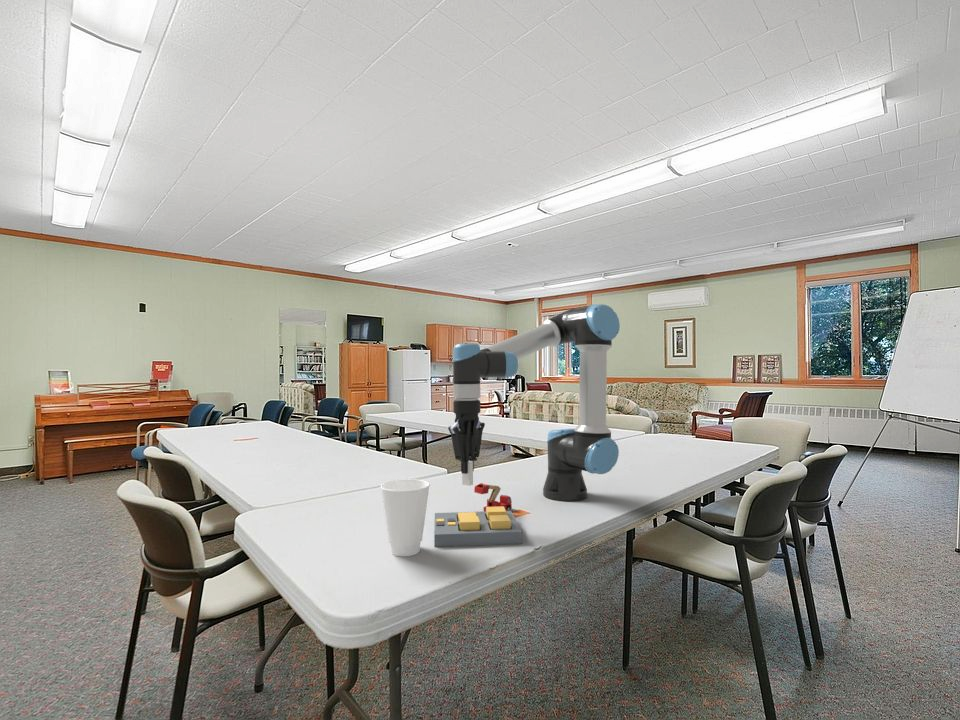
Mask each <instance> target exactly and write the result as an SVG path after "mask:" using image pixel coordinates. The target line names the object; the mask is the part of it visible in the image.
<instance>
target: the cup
mask: <svg viewBox="0 0 960 720" xmlns="http://www.w3.org/2000/svg"><path fill="white" fill-rule="evenodd" d="M430 486H431V484H430V483H429V482H428V481H426V480H422V479H413V478H411V479H410V478H409V479H408V478H407V479H406V478H405V479H395V480H391V481H390V480H389V481H386V482H384V483H382V484H381V485H380V490H381V496H382V497H381V498H382V504H383V511H384V519H385V526H386V532H387V533H386V534H387V540H388V543H389V546H390V547H389V548H390V553H391V554H392V555H393V556H395V557H410V556H414V555H417V554H419V553H420V550H421V544H422V543H421V542H422V540H423V535H424V528H425V527H424V526H425V521H426V513H427V504H428V498H429V490H430Z"/></svg>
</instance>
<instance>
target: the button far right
mask: <svg viewBox="0 0 960 720" xmlns="http://www.w3.org/2000/svg"><path fill="white" fill-rule="evenodd" d="M461 512H462V513H458V521H459V516H477V515H476V512H477V511H461Z"/></svg>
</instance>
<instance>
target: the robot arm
mask: <svg viewBox="0 0 960 720" xmlns="http://www.w3.org/2000/svg"><path fill="white" fill-rule="evenodd" d="M620 325H621V324H620V318H619V316H618V314H617V312H615V311H614V309H613V308H612V307H611V306H609V305H607V304H604V303H603V304H602V303H601V304H600V303H599V304H591V305H586V306H582V307H574V308H570V309H567V310H565V311H563V312H560V313H557V314H556V315H554V316H552V317H550V318H547V319H546V320H544V321H542V323H541V325H539V326H538V325H537V326H536V327H534V328H531V329H529V330H526V331H523V332H521V333H519V334H517V335H513V336H512V337H509V338H505V339H504V340H501V341H499V342H497V343H494V344H492V345H490V346H487V347H486V346H485V347H484V348H483V349H481V347H480V344H479V343H458V344H457V343H456V344H455V345H454V346H453V348H452V349H453V351H452V370H453V371H452V373H453V376H452V377H453V378H452V379H453V382H452V383H453V384H452V385H453V389H452V390H453V393H452V394H453V395H452V396H453V398H454V400H453V403H452V404H453V410H452V411H453V414H455V418H454V423H453V425H449V426H448V429H447V430H448V431H449V433H450V436H451V442H452V448H453V453H454V454H453V455H454V459H455V460H456V461H458V462H460V471H461V476H462V477H461V484H462V485H463V486H469V487H470V486H473V485H474V471H475V468H474V467H475V464H474V463H475V462H476V461H477V460H478V458H479V457H480V451H481V444H482V438H483V430H484V428H485V426H486V424H485V422H481V421H480V417H479V414H480V413H481V400H480V398H482V397H481V378H482V379H483V378H503V379H504V378H505V379H506V378H510V377H514V376H515V375H516V374H517V372H518V370H519V360H520V359H522V358H525V357H526V356H529V355H531V354H533V353H535V352H538V351H541V350H543V349H546V348H547V347H550V346H551V347H558V346H560V345H562V344H570V343H574V347H575V348H576V349H577V350H578V351H579V387H578V388H579V389H578V390H579V393H578V394H579V401H578V402H579V403H578V415H579V416H578V425H577V427H575V428H564V429H563V428H562V429H552V430H549V431H548V433H547V441H546V442H547V474H546V479H545V481H544V483H543V484H544V485H543V488H542V495H543V497H545V498H547V499H550V500H556V501H564V502H565V501H566V502H572V501H581V500H585V499H586V498H587V497H588V488H587V486H586V483H585V479H584V476H583V472H587V473H590V474H593V475H594V474H597V475H604V474H607V473H610V472H611V470H612V469H613V468H614V467H615V466H616V464H617V462H618V459H619V456H620V455H619V453H620V450H619V446H618V444H617V443H616V441H615V440H614V439H613V438H612V431H611V429H609V428H608V426H607V383H608V382H607V378H608V377H607V376H608V372H607V371H608V369H607V366H608V364H607V363H608V360H607V358H608V357H607V355H608V354H607V353H608V351H609V350H610V349H611V348H612V345H613V343H612V340H614V339H615V338H616V337H617V336H618V334H619V331H620Z"/></svg>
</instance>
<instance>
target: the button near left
mask: <svg viewBox="0 0 960 720" xmlns="http://www.w3.org/2000/svg"><path fill="white" fill-rule="evenodd" d="M489 524H490V527H491V529H494V530H499V529H511V520H510V518H509V516H508V515H489Z"/></svg>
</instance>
